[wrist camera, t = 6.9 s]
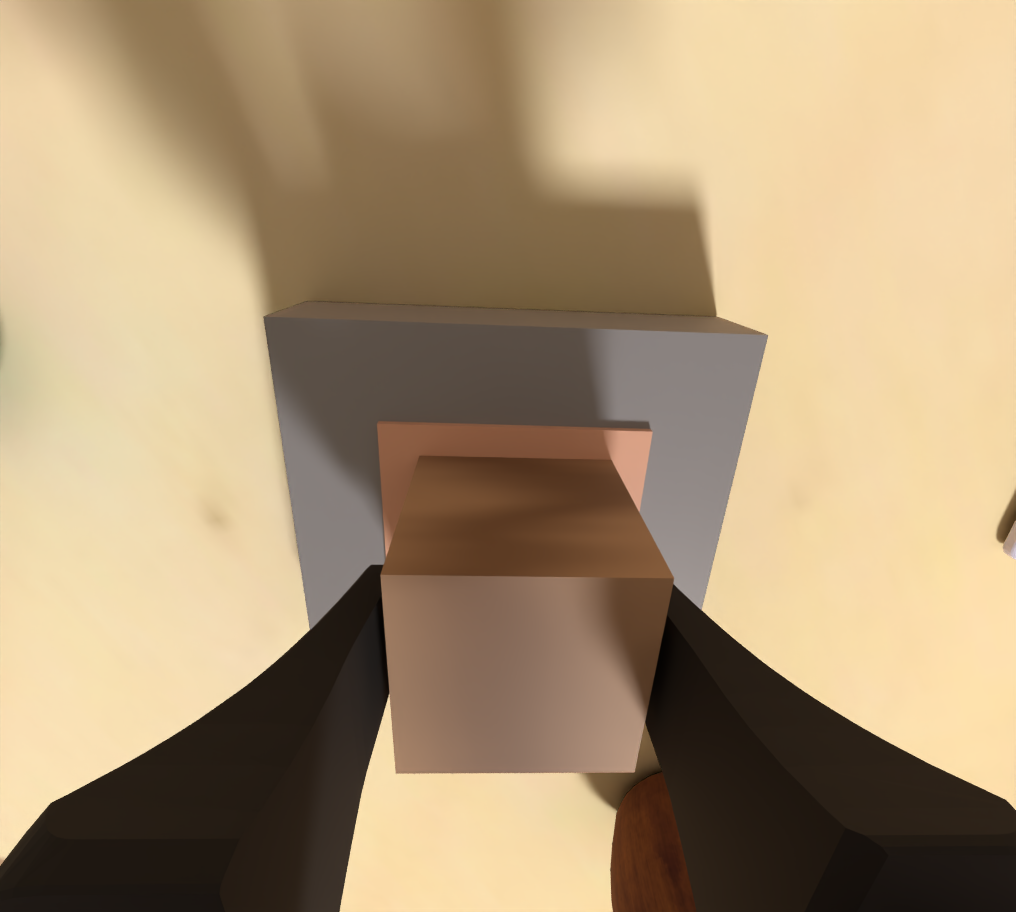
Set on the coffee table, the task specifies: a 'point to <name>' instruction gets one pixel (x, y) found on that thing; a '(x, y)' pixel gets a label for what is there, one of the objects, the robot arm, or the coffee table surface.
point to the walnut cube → (521, 618)
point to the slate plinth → (503, 417)
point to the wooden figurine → (648, 853)
